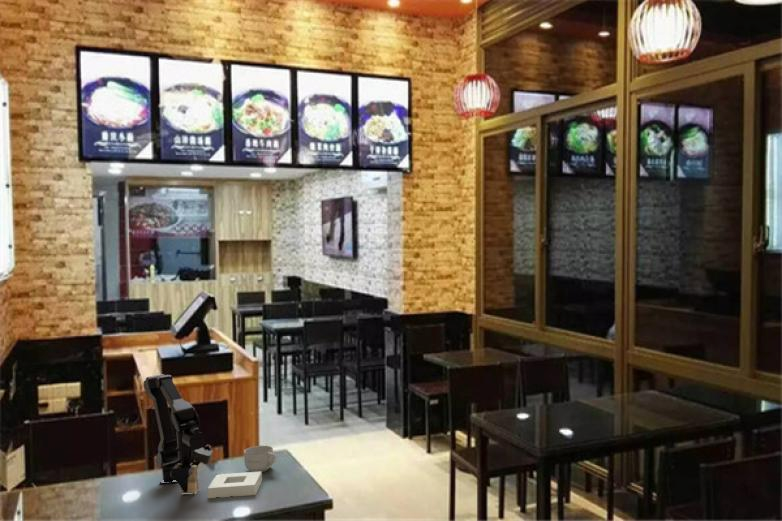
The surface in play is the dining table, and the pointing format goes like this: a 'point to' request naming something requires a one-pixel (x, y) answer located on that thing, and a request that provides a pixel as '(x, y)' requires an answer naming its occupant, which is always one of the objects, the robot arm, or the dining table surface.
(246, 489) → the well block
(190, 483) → the wooden bar
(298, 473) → the dining table surface
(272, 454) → the teacup
